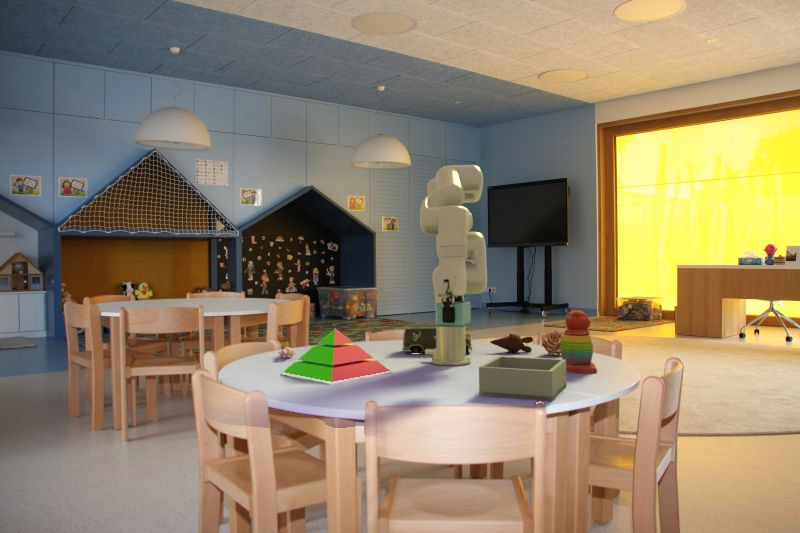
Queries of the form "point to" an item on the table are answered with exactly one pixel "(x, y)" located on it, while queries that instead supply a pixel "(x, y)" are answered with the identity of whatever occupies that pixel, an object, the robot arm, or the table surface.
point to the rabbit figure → (287, 351)
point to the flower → (552, 342)
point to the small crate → (456, 315)
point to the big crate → (522, 378)
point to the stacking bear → (577, 344)
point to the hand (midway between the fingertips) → (453, 320)
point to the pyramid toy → (335, 360)
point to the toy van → (424, 338)
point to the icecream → (513, 343)
